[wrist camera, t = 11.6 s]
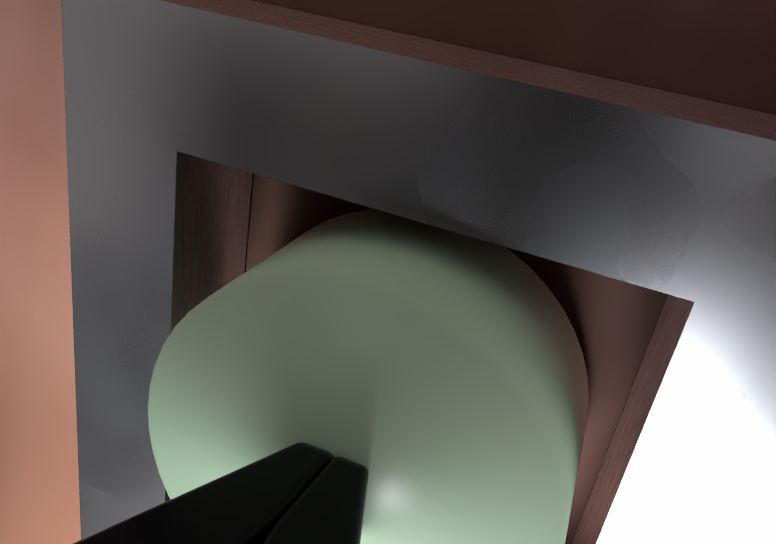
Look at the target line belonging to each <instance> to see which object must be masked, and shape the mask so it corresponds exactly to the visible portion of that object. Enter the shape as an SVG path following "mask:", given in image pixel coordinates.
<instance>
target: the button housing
mask: <svg viewBox="0 0 776 544" xmlns="http://www.w3.org/2000/svg"><path fill="white" fill-rule="evenodd" d="M61 1H62V28H63V55H64V83H65V110H66V137H67V164H68V192H69V219H70V246H71V273H72V301H73V328H74V355H75V382H76V410H77V437H78V464H79V491H80V519H81V540H82V539H84V538H86V537H88V536H91V535H93V534H95V533H97V532H100V531H102V530H104V529H106V528H108V527H111V526H113V525H115V524H117V523H120V522H122V521H124V520H126V519H128V518H131V517H133V516H135V515H137V514H140V513H142V512H144V511H146V510H148V509H151V508H153V507H155V506H157V505H160V504H162V503H164V502H166V501H169V500H170V498H169V496H168V493H167V491H166V489H165V486H164V484H163V481H162V479H161V477H160V474H159V471H158V468H157V464H156V461H155V457H154V454H153V450H152V444H151V438H150V433H149V420H148V400H149V389H150V383H151V379H152V375H153V371H154V366H155V363H156V361H157V359H158V356H159V354H160V352H161V349H162V347H163V345H164V343H165V342H166V340H167V338H168V337H169V335H170V334H171V332H172V331H173V329H174V328H175V326H176V325H177V324H178V323H179V322H180V321H181V320H182V319H183V318H184V317H185V315H186V314H187V313H188V312H189V311H190V310H192V309H193V308H194V307H196V306H197V305H198V304H200V303H201V302H202V301H203V300H205V299H206V298H207V297H209V296H210V295H212V294H213V293H215V292H216V291H218V290H219V289H221V288H222V287H224V286H225V285H227V284H228V283H230V282H231V281H233V280H234V279H236V278H237V277H239V276H240V275H242V274H243V273H244V270H245V258H246V246H247V234H248V222H249V210H250V198H251V186H252V175H253V173H254V174H257V175H261V176H264V177H268V178H271V179H274V180H278V181H281V182H285V183H288V184H292V185H295V186H298V187H302V188H305V189H309V190H312V191H316V192H319V193H323V194H326V195H329V196H333V197H336V198H340V199H343V200H347V201H350V202H353V203H357V204H360V205H364V206H367V207H371V208H374V209H377V210H381V211H384V212H388V213H391V214H395V215H398V216H401V217H405V218H408V219H412V220H415V221H419V222H422V223H425V224H429V225H432V226H436V227H439V228H443V229H446V230H449V231H453V232H456V233H460V234H463V235H467V236H470V237H474V238H477V239H480V240H484V241H487V242H491V243H494V244H498V245H501V246H504V247H508V248H511V249H515V250H518V251H522V252H525V253H528V254H532V255H535V256H539V257H542V258H546V259H549V260H552V261H556V262H559V263H563V264H566V265H570V266H573V267H576V268H580V269H583V270H587V271H590V272H594V273H597V274H600V275H604V276H607V277H611V278H614V279H618V280H621V281H624V282H628V283H631V284H635V285H638V286H642V287H645V288H649V289H652V290H655V291H659V292H662V293H666V294H668V296H667V299H666V301H665V304H664V306H663V309H662V311H661V314H660V317H659V319H658V322H657V324H656V327H655V330H654V332H653V335H652V337H651V340H650V343H649V345H648V348H647V350H646V353H645V355H644V358H643V361H642V363H641V366H640V368H639V371H638V374H637V376H636V379H635V381H634V384H633V387H632V389H631V392H630V394H629V397H628V399H627V402H626V405H625V407H624V410H623V412H622V415H621V418H620V420H619V423H618V425H617V428H616V430H615V433H614V436H613V438H612V441H611V443H610V446H609V449H608V451H607V454H606V456H605V459H604V462H603V464H602V467H601V469H600V472H599V474H598V477H597V480H596V482H595V485H594V487H593V490H592V493H591V495H590V498H589V500H588V503H587V505H586V508H585V511H584V513H583V516H582V518H581V521H580V524H579V526H578V529H577V531H576V534H575V537H574V539H573V542H572V544H776V115H774V114H769V113H765V112H760V111H756V110H751V109H746V108H742V107H737V106H733V105H728V104H724V103H719V102H714V101H710V100H705V99H701V98H696V97H692V96H687V95H682V94H678V93H673V92H669V91H664V90H660V89H655V88H650V87H646V86H641V85H637V84H632V83H627V82H623V81H618V80H614V79H609V78H605V77H600V76H595V75H591V74H586V73H582V72H577V71H573V70H568V69H563V68H559V67H554V66H550V65H545V64H541V63H536V62H531V61H527V60H522V59H518V58H513V57H509V56H504V55H499V54H495V53H490V52H486V51H481V50H477V49H472V48H467V47H463V46H458V45H454V44H449V43H445V42H440V41H435V40H431V39H426V38H422V37H417V36H413V35H408V34H403V33H399V32H394V31H390V30H385V29H381V28H376V27H371V26H367V25H362V24H358V23H353V22H349V21H344V20H339V19H335V18H330V17H326V16H321V15H317V14H312V13H307V12H303V11H298V10H294V9H289V8H285V7H280V6H275V5H271V4H266V3H262V2H257V1H253V0H61Z"/></svg>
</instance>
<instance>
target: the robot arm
mask: <svg viewBox="0 0 776 544" xmlns="http://www.w3.org/2000/svg"><path fill="white" fill-rule="evenodd" d="M368 476H369V471H368V469H367V467H365V466H364V465H361V464H358V463H356V462H353V461H351V460H348V459H346V458H343V457H340V456H339V457H333V456H332V454H331V453H330V452H328V451H326V450H323V449H321V448H318V447H316V446H313V445H310V444H308V443H305V442H299V443H295V444H293V445H291V446H289V447H286V448H284V449H282V450H280V451H277V452H275V453H273V454H271V455H269V456H266V457H264V458H262V459H260V460H257V461H255V462H253V463H251V464H249V465H246V466H244V467H242V468H240V469H237V470H235V471H233V472H231V473H229V474H226V475H224V476H222V477H220V478H217V479H215V480H213V481H211V482H209V483H206V484H204V485H202V486H200V487H197V488H195V489H193V490H191V491H189V492H186V493H184V494H182V495H180V496H177V497H175V498H173V499H171V500H169V501H166V502H164V503H162V504H160V505H157V506H155V507H153V508H151V509H148V510H146V511H144V512H142V513H140V514H137V515H135V516H133V517H131V518H128V519H126V520H124V521H122V522H120V523H117V524H115V525H113V526H111V527H108V528H106V529H104V530H102V531H100V532H97V533H95V534H93V535H91V536H88V537H86V538H84V539H82V540H80V541H77V542H75V543H73V544H360V541H361V533H362V525H363V517H364V509H365V501H366V493H367V484H368Z"/></svg>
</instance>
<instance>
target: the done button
mask: <svg viewBox="0 0 776 544" xmlns="http://www.w3.org/2000/svg"><path fill="white" fill-rule="evenodd" d="M588 403H589V393H588V376H587V371H586V366H585V362H584V357H583V353H582V350H581V347H580V344H579V342H578V339H577V336H576V333H575V331H574V329H573V327H572V325H571V323H570V321H569V319H568V317H567V315H566V313H565V312H564V310H563V308H562V307H561V305H560V304H559V302H558V301H557V299H556V298H555V297H554V295H553V294H552V292H551V291H550V289H549V288H548V287H547V286H546V285H545V283H544V282H543V281H542V280H541V279H540V278H539V277H538V276H537V275H536V274H535V273H534V271H533V270H532V269H531V268H530V267H529V266H527V265H526V264H525V263H524V262H523V261H522V260H520V259H519V258H518V257H517V256H516V255H515V254H513V253H512V252H511V251H510V250H508V249H507V248H505V247H504V246H501V245H498V244H494V243H491V242H487V241H484V240H480V239H477V238H474V237H470V236H467V235H463V234H460V233H456V232H453V231H449V230H446V229H443V228H439V227H436V226H432V225H429V224H425V223H422V222H419V221H415V220H412V219H408V218H405V217H401V216H398V215H395V214H391V213H388V212H384V211H381V210H377V209H368V210H363V211H358V212H352V213H347V214H344V215H341V216H338V217H336V218H333V219H330V220H327V221H325V222H323V223H321V224H319V225H317V226H316V227H314V228H312V229H310V230H308V231H307V232H305V233H304V234H302V235H301V236H299V237H298V238H296V239H295V240H293V241H292V242H290V243H289V244H287V245H286V246H284V247H283V248H281V249H280V250H278V251H277V252H275V253H274V254H272V255H271V256H269V257H268V258H266V259H265V260H263V261H262V262H260V263H259V264H257V265H256V266H254V267H252V268H251V269H249V270H248V271H246V272H245V273H243V274H242V275H240V276H239V277H237V278H236V279H234V280H233V281H231V282H230V283H228V284H227V285H225V286H224V287H222V288H221V289H219V290H218V291H216V292H215V293H213V294H212V295H210V296H209V297H207V298H206V299H205V300H203V301H202V302H201V303H200V304H198V305H197V306H196V307H194V308H193V309H192V310H190V311H189V312H188V313H187V314H186V315H185V317H184V318H183V319H182V320H181V321H180V322H179V323H178V324H177V325H176V326H175V328H174V329H173V331H172V332H171V334H170V335H169V337H168V338H167V340H166V342H165V343H164V345H163V347H162V349H161V352H160V354H159V356H158V359H157V361H156V363H155V366H154V371H153V375H152V379H151V383H150V389H149V400H148V420H149V433H150V438H151V444H152V450H153V454H154V457H155V461H156V464H157V468H158V471H159V474H160V477H161V479H162V481H163V484H164V486H165V489H166V491H167V493H168V496H169V498H170V500H171V499H173V498H175V497H177V496H180V495H182V494H184V493H186V492H189V491H191V490H193V489H195V488H197V487H200V486H202V485H204V484H206V483H209V482H211V481H213V480H215V479H217V478H220V477H222V476H224V475H226V474H229V473H231V472H233V471H235V470H237V469H240V468H242V467H244V466H246V465H249V464H251V463H253V462H255V461H257V460H260V459H262V458H264V457H266V456H269V455H271V454H273V453H275V452H277V451H280V450H282V449H284V448H286V447H289V446H291V445H293V444H295V443H299V442H305V443H308V444H310V445H313V446H316V447H318V448H321V449H323V450H326V451H328V452H330V453H331V454H332V456H333V457H339V456H340V457H343V458H346V459H348V460H351V461H353V462H356V463H358V464H361V465H364V466H365V467H367V469H368V471H369V476H368V484H367V493H366V501H365V509H364V517H363V525H362V533H361V541H360V544H565V541H566V535H567V529H568V524H569V518H570V512H571V507H572V501H573V495H574V490H575V484H576V478H577V473H578V467H579V461H580V456H581V450H582V444H583V438H584V433H585V427H586V421H587V412H588Z"/></svg>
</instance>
